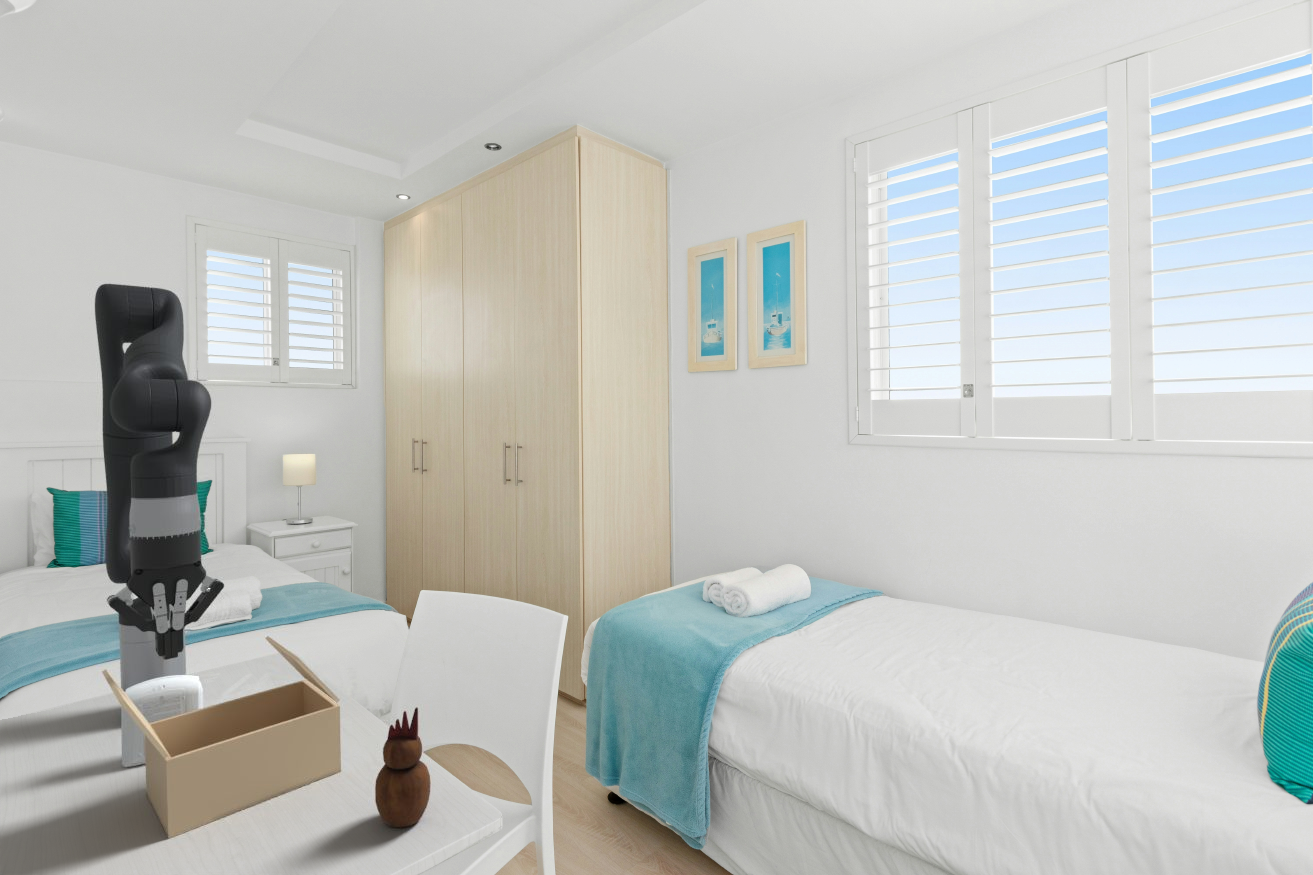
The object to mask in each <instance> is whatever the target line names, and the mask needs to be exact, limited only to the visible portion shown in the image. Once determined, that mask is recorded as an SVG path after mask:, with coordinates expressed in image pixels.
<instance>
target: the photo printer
mask: <svg viewBox="0 0 1313 875" xmlns="http://www.w3.org/2000/svg"><path fill="white" fill-rule="evenodd" d="M125 694H126V695H127V696H128V697H129V699H130V700H131V701H132V702H133V704H134V705H135V706H136V707H137V709H138V710H139V711H140V712H141V714H142V715H143V716H144V717H145V719H146V720H147V721H148V723H152V722H155V721H159V720H163V719H166V718H170V717H173V716H177V715H181V714H184V713H188V712H191V711H195V710H198V709H202V708H204V690H203V685H202V682H201V681H200V676H198V675H191V674H190V675H189V674H186V675H174V676H166V677H160V678H155V679H151V680H148V681H145V682H142V683H139V684H136V685H134V686H132V687H129V688H127V689H126V691H125ZM120 708H121V710H120V711H121V712H120V713H121V714H120V715H121V716H120V721H121V726H120V728H121V734H120V735H121V766H122V767H124V768H129V767H135V766H138V765H139V766H140V765H142V764H145V734H144V733H143V731H142V730H141V729H140V728H139V727H138V725H137V724H136V723H135V722H134V720H133V719H132V718H131V717H130V715H129V714H128V713H127V712H126V710H125V709H124V708H123V707H122V705H121V704H120Z"/></svg>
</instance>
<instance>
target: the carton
mask: <svg viewBox="0 0 1313 875" xmlns="http://www.w3.org/2000/svg"><path fill="white" fill-rule="evenodd" d="M149 724H150V726H151V728H152V729H153V731H154V733H155V734H156V736H157V737H158V739H159V741H160V742H161V744H162V745H163V747H164V749H165V750H166V752H167V753H168V755H169V756H168V757H166V758H165V759H164V757H163V756H162V755H161V754H160V753H159V751H158V750H157V749H156V748H155V746H154V745H153V744H152V743H151V741H150V740H149V739H148V738H147V736H146V735H145V763H144V764H145V787H146V788H145V791H146V792H145V794H146V796H147V798H148V801H149V803H150V805H151V807H152V809H153V810H154V813H155V814H156V817H157V819H158V820H159V822H160V825H161V827H162V829H163V831H164V832H165V834H166V837H167V838H168V839H171V838H173V837H177V836H178V835H179V836H180V835H182V834H185V833H187V832H189V831H193V830H195V829H197V828H199V827H203V826H204V825H207V824H210V823H213V822H215V821H217V820H220V819H222V818H225V817H227V816H230V815H233V814H236V813H238V812H241V811H244V810H246V809H249V808H252V807H254V806H256V805H259V804H261V803H264V802H266V801H268V800H271V799H273V798H276V797H279V796H281V795H284V794H287V793H289V792H292V791H295V790H297V789H300V788H302V787H305V786H307V785H310V784H312V783H315V782H318V781H320V780H322V779H325V778H327V777H330V776H333V775H336V774H338V773H340V772H342V760H341V759H342V758H341V757H342V755H341V754H342V752H341V705H340V704H338V702H336V701H334V700H333V699H332V698H330V697H329V696H328V695H326V694H325V693H324V692H322V691H321V690H320V689H318V688H317V687H316V686H315V685H313V684H312V683H311V682H309V681H308V680H307V679H303V680H299V681H296V682H292V683H289V684H284V685H281V686H278V687H275V688H271V689H267V690H264V691H263V690H262V691H260V692H257V693H253V694H250V695H246V696H241V697H239V698H235V699H231V700H227V701H223V702H220V703H218V704H217V703H216V704H212V705H210V706H207V707H203V708H202V709H198V710H195V711H191V712H188V713H184V714H181V715H177V716H173V717H170V718H166V719H163V720H159V721H155V722H152V723H149Z"/></svg>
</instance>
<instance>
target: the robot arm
mask: <svg viewBox="0 0 1313 875" xmlns="http://www.w3.org/2000/svg"><path fill="white" fill-rule="evenodd" d="M94 296H95V297H94V316H95V327H96V335H97V346H98V354H99V361H100V362H99V363H100V372H101V373H100V374H101V381H102V382H101V384H102V386H101V388H102V448H103V449H102V450H103V462H104V470H105V471H104V473H105V483H106V525H105V526H106V532H105V537H106V538H105V568H106V573H107V576H108V578H109V580H110V581H111V582H112V583H114V584H116V585H118V584H119V585H121V584H125V585H126V586H124V587H123V588H122V589H121V590H120V591H118V592H117V593H116V594H111V595H109V596H108V597H107V598H106V602H107V604H108V606H109V607H110V608H111V609H113V610H114V611H115V612H116V613H117V614H118V633H119V634H118V637H119V661H120V662H119V664H120V668H119V669H120V687H121V689H122V690H123V691H124V692H125V691H126V689H127V688H129V687H132V686H134V685H136V684H139V683H142V682H145V681H148V680H151V679H155V678H160V677H166V676H174V675H187V658H186V657H187V656H186V654H187V653H186V626H188V625H189V624H191V623H196V622H198V621H199V620H200V619H201V617H202V616H203V614H205V612H206V611H207V610H208V608H209V607H210V605H212V603H213V602H214V601H215V600H216V598H217V597H218V596H219V594H220V593H221V592H222V590H223V589H225V588H224V587H225V584H224V583H223V581H221V580H219V579H218V578H213V577H211V576H208V575H207V570H206V569H205V567H204V566H203V564H202V540H201V539H202V538H201V536H202V534H201V533H202V532H201V530H202V529H201V527H202V518H201V508H200V507H201V506H200V503H199V498H198V497H199V496H198V476H197V474H198V458H199V457H198V456H199V451H200V447H201V446H200V445H201V443H202V438H203V436H204V435H203V434H204V433H205V429H206V426H207V423H208V420H209V418H210V414H211V410H212V397H211V395H210V393H209V392H210V391H208V388H206V387H205V385H204V384H202V383H201V382H200V381H196V380H192V379H189V376H188V373H187V368H186V366H185V362H184V358H183V354H184V353H183V350H184V339H185V337H184V335H185V334H184V332H185V331H184V330H185V328H184V324H185V323H184V313H183V307H182V303H181V301H180V298H179V297H178V295H177V294H175V292H173V291H171V290H169V289H165V288H161V287H152V286H151V287H150V286H139V285H130V284H129V285H126V284H119V283H118V284H116V283H103V284H100V285H99V287H98V288H97V289H96V291H95V295H94ZM124 344H129V345H128V347H127V348H126V349H125V351H124ZM173 433H179V434H178V437H177V439H176V440H175V442H173V439H174V436H173ZM199 587H200V591H201V592H200V594H199V595H198V596H197V597H196V599H195V600H194V601H193V602H192V604H191V605H190V606H189V608H187V601H188V600H190V599H191V598H192V596H193V595H194V594H195V592H196V591H197V589H199ZM132 594H134V595H135V597H136V598H134V599H133V598H132ZM186 609H187V610H186Z"/></svg>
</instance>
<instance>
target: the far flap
mask: <svg viewBox="0 0 1313 875" xmlns="http://www.w3.org/2000/svg"><path fill="white" fill-rule="evenodd" d="M264 639H265V640H266V642H268V643H269V644H270V645H271V646H272V647H273V649H275V650H276V651H277V652H278V653H279V655H281V656H282V657H283V658H284V659H285V660H286V661H287V662H288V663H289V665H291V666H292V667H293V668H294V669H295V670H296V671H297V672H298V673H299V674H300V675H301V676H302V678H304V680H307V681H308V682H309V683H311V684H312V685H313V686H315V687H316V688H317V689H319V690H320V691H321V692H322V693H324V694H325V695H326V696H328V697H329V698H330V699H332V700H333V701H334V702H336V703H338V702H340V700H341V699H340V698H339V697H338V696H337V695H336V694H335V693H334V692H333V691H332V690H331V689H330V688H329V687H328V686H327V685H326V683H324V682H323V681H322V680H321V679H320V678H319V677H318V676H317V675H316V674H315V673H314V672H313V671H312V670H311V669H310V668H309V666H307V665H306V664H305V662H303V660H301V659H300V658H299V657H298V656H296V654H294V653H292V652H291V651H290V650H288V649H287V648H285V647H284V646H283V645H282V644H280V643H279V642H277V641H276V640H274V639H273V638H272V637H270V636H266V637H265V638H264Z"/></svg>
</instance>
